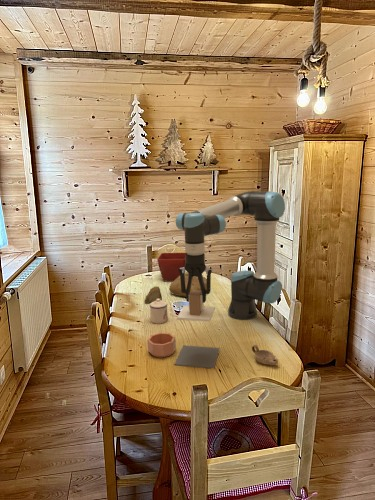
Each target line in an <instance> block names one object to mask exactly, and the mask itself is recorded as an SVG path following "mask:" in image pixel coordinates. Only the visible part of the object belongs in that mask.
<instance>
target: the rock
mask: <svg viewBox="0 0 375 500" xmlns="http://www.w3.org/2000/svg"><path fill="white" fill-rule="evenodd" d="M156 299H160V300H162V301H163V298H162V293H161V289H160V287H159V286H153V287H151V288H150V289H149V291H148V293H147V295H145V299H144V304H150V303H152V302H154V301H156Z"/></svg>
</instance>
